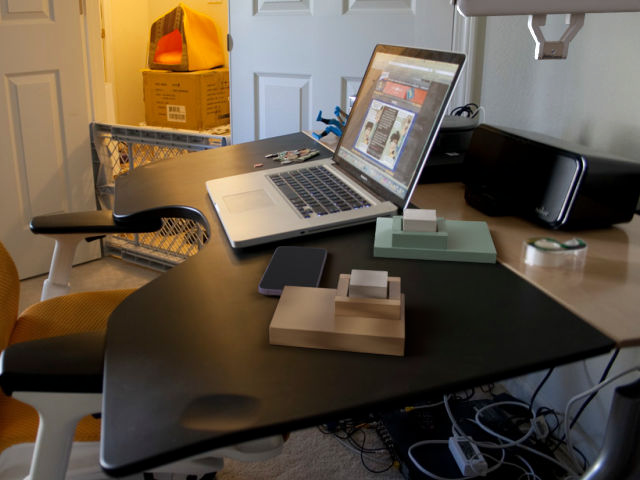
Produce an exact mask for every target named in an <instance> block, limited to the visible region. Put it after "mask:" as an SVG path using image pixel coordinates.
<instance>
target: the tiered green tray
mask: <svg viewBox="0 0 640 480" xmlns="http://www.w3.org/2000/svg"><path fill="white" fill-rule="evenodd" d="M436 217H437V228H436V232H415V231H403V215H392V217H376V225H375V234H374V235H375V236H374V244H373V257H374V258H389V259H391V258H392V259H405V260H407V259H410V260H426V261H428V260H429V261H443V262H444V261H446V262H461V263H462V262H464V263H481V264H482V263H483V264H497V256H498V253H497V249H496V246H495V244H494V241H493V240H494V239H493V238H492V235H491V231H490V229H489V226H488V223H487V221H479V220H478V221H476V220H474V221H473V220H453V219H451V220H449V219H446V218H445V216H444V217H443V216H441V217H440V216H436Z"/></svg>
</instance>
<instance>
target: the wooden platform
mask: <svg viewBox="0 0 640 480" xmlns="http://www.w3.org/2000/svg"><path fill="white" fill-rule="evenodd" d="M350 279H351V274H349V273H340V274H339V277H338V282H337V288H325V287H318V288H311V287H296V286H285V287H284V289H283V292H282V295H281V296H280V298H279V300H278V303H277V305H276V308H275V310H274V313H273V316H272V319H271V322H270V324H269V327H268V328H269V329H268V331H269V345H271V346H272V345H273V346H285V347H294V348H295V347H296V348H307V349H319V350H329V351H340V352H341V351H342V352H351V353H352V352H353V353H363V354H374V355H375V354H377V355H387V356H399V357H404V356H405V341H406V311H405V309H406V307H405V306H406V305H405V302H406V301H405V300H406V299H405V298H406V297H405V296H406V295H405V293H403V292H402V293H401V277H399V276H388V280H387V299H374V298H359V297H349V285H350Z"/></svg>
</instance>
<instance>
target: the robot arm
mask: <svg viewBox="0 0 640 480" xmlns="http://www.w3.org/2000/svg"><path fill="white" fill-rule="evenodd" d="M456 9H457V11H458V12H459V14H460V15H461V16H463V17H465V18H471V17H472V18H473V17H474V18H475V17H478V18H479V17H513V16H528V19H527V27H528V29H529V32H530V34H531V35H532V37H533V39H534V41H535V43H536V44H535V50H534V59H535V60H537V61H543V60H546V61H547V60H567V58H568V53H569V47H570V43H571V42H572V41H573V39H574V38H575V37H576V36H577V35H578V34H579V32H580V31H581V29H582V28H583V27H584V25H585V19H586V14H610V13H611V14H612V13H613V14H614V13H615V14H616V13H640V0H456ZM547 15H565V18H564V24H565V25H569V26H568V27H567V28H566V30H565V32H564V33H562V35H561V37H560V38H559V39H558V40H546V39H545V36H544V34H543V32H542V30H541V27H544V26H546V22H547Z"/></svg>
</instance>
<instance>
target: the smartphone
mask: <svg viewBox="0 0 640 480" xmlns="http://www.w3.org/2000/svg"><path fill="white" fill-rule="evenodd" d="M327 257H328V250H327V249H326V248H322V247H306V246H287V245H285V246H284V245H283V246H278V247H277V248H276V249H275V251H274V253H273V255H272V256H271V259H270V261H269V263H268V265H267V267H266V269H265V272H264V273H263V275H262V277H261V280H260V281H259V284H258V293H260V294H261V295H265V296H280V297H281V295H282V292H283V289H284V287H285V286H296V287H311V288H319V287H320V283H321V280H322V275H323V272H324V267H325V264H326V261H327Z"/></svg>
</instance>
